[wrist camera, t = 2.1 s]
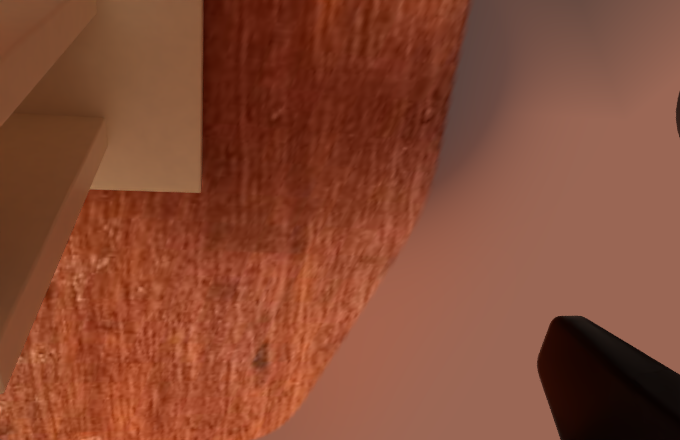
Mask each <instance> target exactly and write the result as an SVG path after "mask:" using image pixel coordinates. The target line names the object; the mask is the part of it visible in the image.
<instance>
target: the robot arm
mask: <svg viewBox="0 0 680 440" xmlns="http://www.w3.org/2000/svg"><path fill="white" fill-rule="evenodd" d="M537 368H538V373H539V377H540V379H541V383H542V386H543V389H544V392H545V395H546V398H547V400H548V403H549V406H550V409H551V412H552V415H553V418H554V421H555V424H556V427H557V430H558V433H559V436H560V439H561V440H680V375H679V374H678V373H676V372H674V371H673V370H671V369H669V368H668V367H666V366H664V365H663V364H661V363H660V362H658V361H656V360H655V359H653V358H651V357H649V356H648V355H646V354H645V353H643V352H641V351H640V350H638V349H636V348H635V347H633V346H631V345H630V344H628V343H626V342H624V341H623V340H621V339H619V338H618V337H616V336H614V335H613V334H611V333H610V332H608V331H606V330H605V329H603V328H601V327H600V326H598V325H596V324H595V323H593V322H591V321H590V320H588V319H586V318H585V317H582V316H558V317H556V318H554V319H553V320H552V321H551V323H550V325H549V328H548V331H547V334H546V336H545V339H544V342H543V344H542V347H541V350H540V353H539V355H538V361H537Z"/></svg>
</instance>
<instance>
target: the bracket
mask: <svg viewBox="0 0 680 440" xmlns="http://www.w3.org/2000/svg"><path fill="white" fill-rule="evenodd" d="M203 23H204V0H0V394H2V393H4V392H5V390H6V387H7V385H8V382H9V380H10V378H11V375H12V373H13V371H14V368H15V366H16V363H17V361H18V359H19V356H20V354H21V351H22V349H23V347H24V344H25V342H26V340H27V337H28V335H29V332H30V330H31V328H32V325H33V323H34V320H35V318H36V316H37V313H38V311H39V309H40V306H41V304H42V301H43V299H44V297H45V294H46V292H47V290H48V287H49V285H50V282H51V280H52V278H53V275H54V273H55V270H56V268H57V266H58V263H59V261H60V259H61V256H62V254H63V251H64V249H65V247H66V244H67V242H68V240H69V237H70V235H71V232H72V230H73V228H74V225H75V223H76V220H77V218H78V216H79V213H80V211H81V209H82V206H83V204H84V201H85V199H86V197H87V194H88V192H89V190H90V189H96V190H126V191H156V192H187V193H200V192H201V185H202V144H203Z"/></svg>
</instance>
